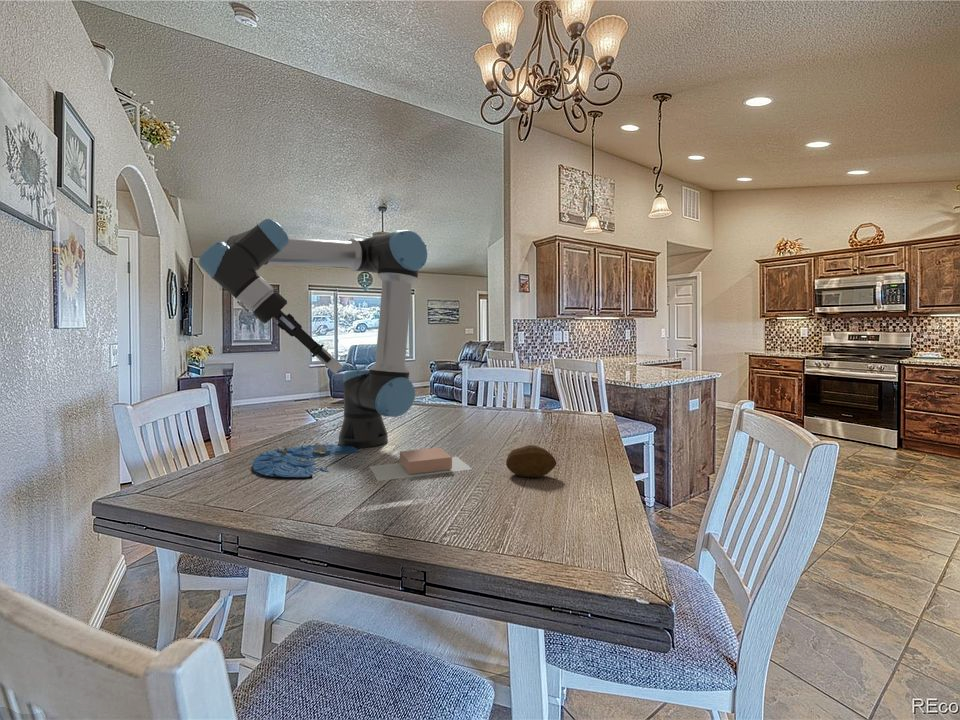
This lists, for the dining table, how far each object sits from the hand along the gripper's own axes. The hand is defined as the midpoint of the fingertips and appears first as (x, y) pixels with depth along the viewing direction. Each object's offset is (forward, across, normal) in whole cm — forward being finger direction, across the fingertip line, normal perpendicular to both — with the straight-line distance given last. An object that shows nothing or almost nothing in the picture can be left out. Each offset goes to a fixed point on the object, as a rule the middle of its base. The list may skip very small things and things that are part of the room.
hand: (338, 369), depth 118 cm
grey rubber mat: (+32, +7, -5) cm, 33 cm away
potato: (+49, +21, +12) cm, 55 cm away
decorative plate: (+15, -12, -23) cm, 30 cm away
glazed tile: (+27, +7, -6) cm, 29 cm away
